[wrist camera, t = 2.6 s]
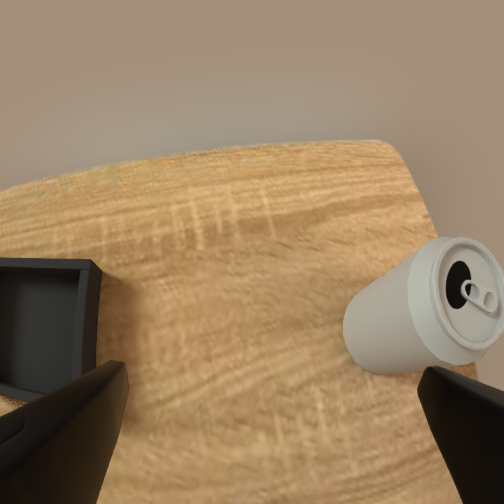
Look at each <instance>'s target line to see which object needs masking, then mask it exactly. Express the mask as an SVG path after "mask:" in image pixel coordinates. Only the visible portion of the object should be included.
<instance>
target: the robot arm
mask: <svg viewBox="0 0 504 504" xmlns="http://www.w3.org/2000/svg"><path fill="white" fill-rule="evenodd" d="M128 392H129V384H128V376H127V368H126V364H125V363H124V362H121V361H114V360H110V361H108V362H106V363H105V364H103V365H101V366H99V367H97V368H95V369H93V370H91V371H90V372H88V373H86V374H84V375H82V376H80V377H78V378H76V379H74V380H72V381H71V382H69V383H67V384H65V385H63V386H61V387H59V388H57V389H55V390H53V391H51V392H49V393H47V394H45V395H43V396H41V397H39V398H38V399H36V400H34V401H32V402H30V403H28V404H26V405H24V408H23V407H20V408H18V409H16V410H14V411H12V412H9V413H7V414H5V415H3V416H1V417H0V504H96V502H97V499H98V496H99V493H100V490H101V487H102V484H103V481H104V478H105V475H106V472H107V469H108V466H109V463H110V460H111V457H112V454H113V451H114V448H115V446H116V443H117V440H118V436H119V432H120V428H121V424H122V419H123V414H124V410H125V406H126V401H127V397H128ZM417 393H418V397H419V399H420V402H421V405H422V408H423V410H424V413H425V416H426V419H427V422H428V424H429V427H430V430H431V432H432V434H433V436H434V439H435V441H436V443H437V445H438V447H439V449H440V452H441V454H442V456H443V458H444V460H445V463H446V465H447V467H448V469H449V472H450V474H451V476H452V478H453V481H454V483H455V486H456V488H457V490H458V493H459V495H460V498H461V500H462V502H463V504H504V391H501V390H499V389H496V388H494V387H491V386H488V385H486V384H483V383H481V382H478V381H476V380H473V379H470V378H468V377H465V376H463V375H460V374H458V373H455V372H453V371H450V370H448V369H445V368H443V367H440V366H437V365H436V366H428V367H426V369H425V370H424V372H423V375H422V378H421V380H420V383H419V385H418V389H417Z"/></svg>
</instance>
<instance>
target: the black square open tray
mask: <svg viewBox="0 0 504 504" xmlns="http://www.w3.org/2000/svg"><path fill="white" fill-rule="evenodd" d="M101 277H102V270H101V269H100V268H99V267H98V266H97V265H96V264H95V263H94V262H93V261H92V260H91V259H44V258H0V395H3V396H7V397H10V398H14V399H18V400H22V401H26V402H32V401H34V400H36V399H38V398H39V397H41V396H43V395H45V394H47V393H49V392H51V391H53V390H55V389H57V388H59V387H61V386H63V385H65V384H67V383H69V382H71V381H72V380H74V379H76V378H78V377H80V376H82V375H84V374H86V373H88V372H90V371H91V370H93V369H95V368H96V340H97V322H98V308H99V297H100V287H101Z"/></svg>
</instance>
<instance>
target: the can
mask: <svg viewBox="0 0 504 504" xmlns="http://www.w3.org/2000/svg"><path fill="white" fill-rule="evenodd" d="M503 332H504V273H503V270H502V268H501V267H500V265H499V263H498V262H497V260H496V258H495V257H494V255H493V254H492V253H491V252H490V251H489V250H488V249H487V248H486V247H485V246H484V245H482V244H481V243H479V242H478V241H476V240H474V239H471V238H466V237H458V238H449V237H441V238H437V239H432V240H430V241H429V242H428V243H426V244H425V245H424V246H422V247H421V248H420V249H418V250H417V251H416V252H414V253H413V254H412V255H410V256H409V257H408V258H406V259H405V260H404V261H402V262H401V263H399V264H398V265H397V266H395V267H394V268H392V269H391V270H390V271H388V272H387V273H385V274H384V275H383V276H381V277H380V278H378V279H377V280H375V281H374V282H372V283H371V284H370V285H368V286H367V287H365V288H364V289H362V290H361V291H359V292H358V293H357V294H355V296H354V297H353V299H352V300H351V301H350V303H349V304H348V306H347V309H346V312H345V315H344V318H343V336H344V340H345V344H346V347H347V350H348V351H349V353H350V355H351V356H352V358H353V359H354V361H355V362H356V363H358V364H359V365H360V366H361V367H362V368H364V369H365V370H367V371H369V372H372V373H375V374H398V373H408V372H417V371H424V370H425V369H426V367H428V366H436V365H437V366H440V367H443V368H448V367H455V366H461V365H467V364H470V363H472V362H474V361H476V360H477V359H479V358H481V357H482V356H483V355H484V354H485V352H486V351H487V349H488V348H489V347H490V346H492V345H493V344H495V343H496V342H497V340H498V339H499V338H500V336H501V335H502V333H503Z"/></svg>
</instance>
